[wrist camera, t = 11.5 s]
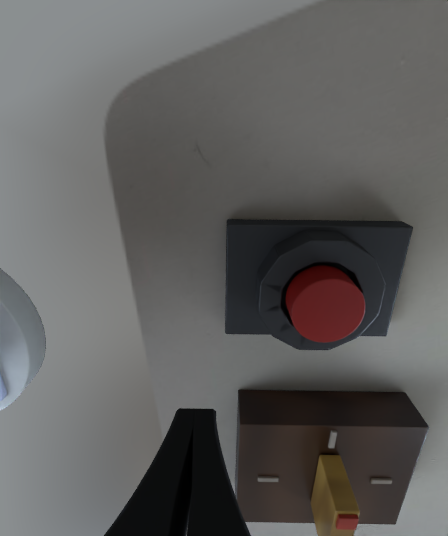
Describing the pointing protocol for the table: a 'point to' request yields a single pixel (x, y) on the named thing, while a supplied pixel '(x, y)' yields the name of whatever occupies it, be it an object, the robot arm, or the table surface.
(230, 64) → the table surface
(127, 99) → the table surface
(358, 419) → the plate
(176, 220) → the table surface
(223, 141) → the table surface
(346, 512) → the yellow rectangular block
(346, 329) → the bell button
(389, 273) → the dark grey button mount
